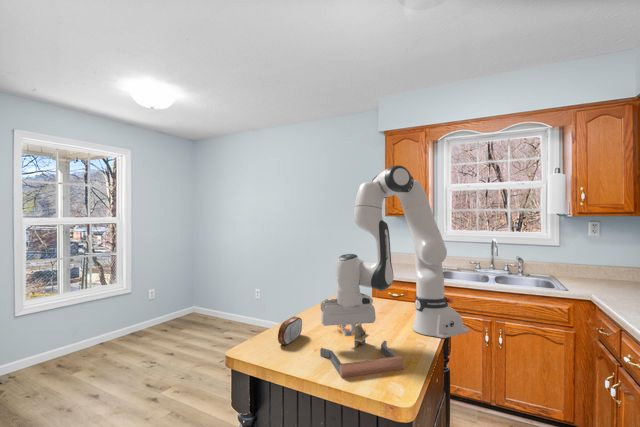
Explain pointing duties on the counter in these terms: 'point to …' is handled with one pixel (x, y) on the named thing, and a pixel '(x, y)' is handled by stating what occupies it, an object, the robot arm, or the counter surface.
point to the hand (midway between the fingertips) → (348, 335)
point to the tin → (290, 330)
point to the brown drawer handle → (365, 363)
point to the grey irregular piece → (359, 335)
